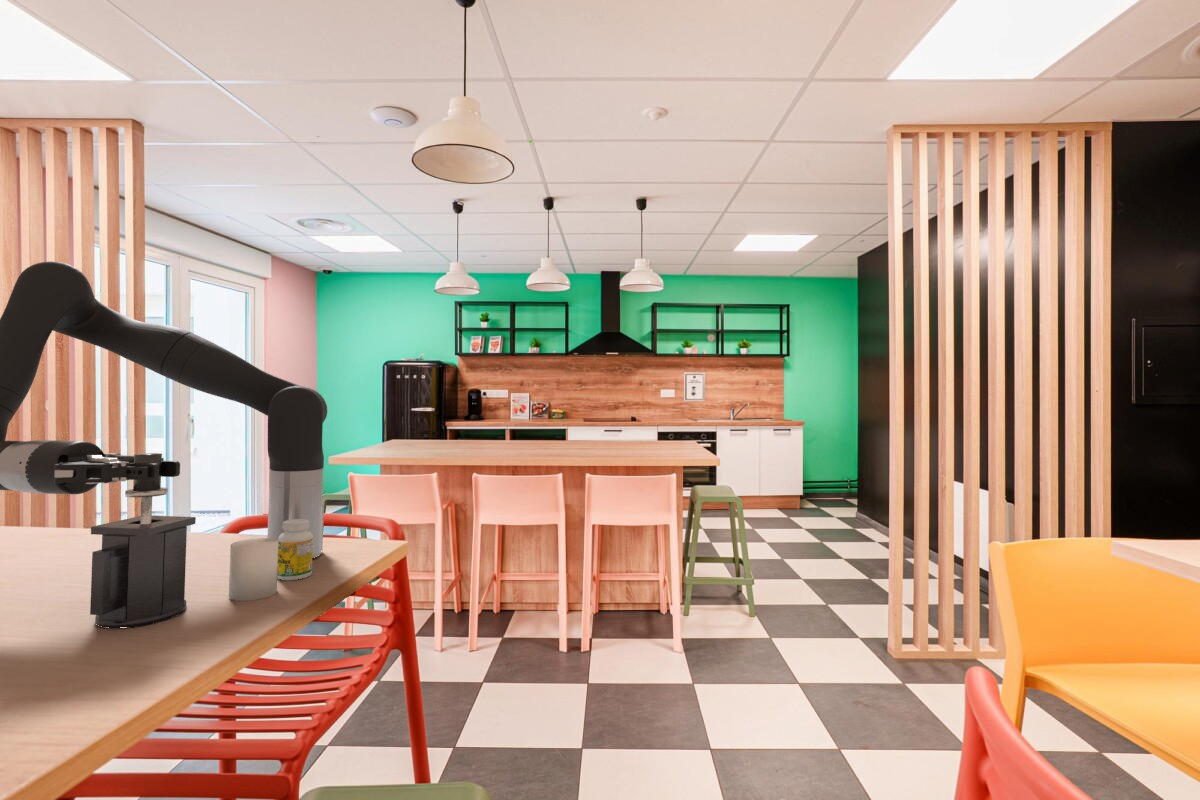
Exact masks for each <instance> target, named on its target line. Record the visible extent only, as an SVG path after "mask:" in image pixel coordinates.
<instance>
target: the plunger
mask: <svg viewBox="0 0 1200 800" xmlns="http://www.w3.org/2000/svg"><path fill="white" fill-rule="evenodd" d="M162 458H163V454H162V453H158V452H153V453H135V454H134V463H154V464H158V465H159V477H158V479H156V480H132V481H133V482H132V483H133V484H132V485H133V486H132V488H131V489H127V490H125V492H124V493H125V498H140V516H141V518H140V524H150V523H151V518H152V516H153V513H152V512H153V511H152V510H153V497H161V496H165V495H168V493H169V491H168V487H164V486H163V487H162V477H161V465H162Z"/></svg>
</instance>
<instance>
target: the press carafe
mask: <svg viewBox="0 0 1200 800" xmlns="http://www.w3.org/2000/svg"><path fill="white" fill-rule="evenodd" d="M140 518H141V515H139V516H133V517H129V518H125V519H121V520H115V521H112V522H111V521H110V522H105V523H103V524H98V525H93V526H90V535H101V549H98V550H95V551H92V554H91V555H92V559H91V578H90V579H91V580H90V581H91V583H90V607H89V612H90V613H89V615H90V616H95V617H94V619H95V620H94V621H95V623H96V624H97V625H99V626H102V627H109V628H120V627H132V628H136V627H135V626H139V627H143V626H148V624H149V625H153V623H154V624H157V623H158V624H159V623H160V622H164V621H167V620H171V619H173V618H175V617H177V616H179V615H181V614H183V613H184V612H185V611H186V609H187V600H186V599H185V594H186V589H185V588H186V563H187V538H188V535H187V534H188V533H187V532H188V526H193V525H196V520H197V518H196V516H180V515H178V516H176V515H175V516H172V515H152V518H151V523H150V524H140Z"/></svg>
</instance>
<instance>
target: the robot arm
mask: <svg viewBox="0 0 1200 800" xmlns="http://www.w3.org/2000/svg"><path fill="white" fill-rule="evenodd" d="M52 332H56V333H59V334H61V335H65V336H67V337H70V338H74V339H77V340H79V341H81V342H86V343H87V344H91V345H94V346H96V347H100V348H102V349H105V350H107V351H109V352H111V353H114V354H116V355H117V356H120V357H122V358H124V359H125V360H127V361H131V362H133V363H134V364H137V365H139V366H142V367H144V368H147V370H151V371H153V372H154V373H156V374H158V375H161V376H162V377H165V378H168V379H169V380H172V381H173V382H177V383H179V384H180V385H183V386H186V387H189V388H191V389H194V390H197V391H200V392H202V393H205V394H208V395H211V396H214V397H219V398H222V399H226V400H229V401H233V402H236V403H239V404H243V405H244V406H247V407H250V408H252V409H254V410H256V411H258V412H260V413H261V414H263V415H265V416H267V456H268V459H269V476H268V508H267V509H268V511H267V512H268V513H267V536H266V538H274V539H277V540H278V537H279V536H280V535H281V534H282V533H284V531H283V529H282V525H283V522H284V521H287V520H293V519H307V520H309V527H308V529H307V531H309V532H311V533H312V535H313V555H312V558H314V557H316V556H318V555H320V554H322V552H321V550H322V551H323V547H324V546H323V543H324V542H323V539H324V511H325V506H324V504H323V496H324V495H323V494H324V493H323V491H324V465H325V455H324V450H323V449H324V448H323V423H324V422H325V421H326V419H327V416H328V406H327V405H328V404H327V403H326V400H325V398H324V397H323V396H322V394H320V393H319V392H318V391H317V390H315V389H312V388H310V387H306V386H302V385H299V384H297V383H293V382H291V381H288V380H285V379H282V378H281V377H277V376H275V375H273V374H270V373H269V372H266V371H264V370H262V369H260V368H258V367H256V366H255V365H253V364H252V363H251V362H248V361H246V360H244V358H242V357H240V356H238V355H237V354H234V352H231V351H230V350H227V349H225V348H224V347H222V346H220V345H218V344H216V343H214V342H213V341H210V340H208V339H206V338H205V337H201V336H200V335H198V334H195V333H194V332H191V331H188V330H186V329H184V328H181V327H177V326H174V325H173V326H172V325H169V324H168V325H167V324H162V323H161V324H159V323H154V322H153V323H152V322H146V321H140V320H137V319H135V318H131V317H129V316H127V315H125V314H122V313H120V312H118V311H117V310H115V309H112V308H110V307H108V306H107V305H105V304H103V303H102V302H100V301H98V299H96V297H95V295H94V292H93V288H92V285H91V284H90V282H89V280H88V278H87V277H86V276H85V275H84V273H83V272H82V271H81V270H80V269H78V268H77V267H75V266H73V265H70V264H69V263H65V262H61V261H43V262H42V261H41V262H38V263H35V264H32V265H30V266H28V267H26V268H25V269H24V270H23V271H22V272H21V273H20V275H19V276H18V277H17V279H16V281H15V284H14V285H13V289H12V290H11V293H10V295H9V299H8V301H7V303H6V306H5V308H4V310H3V313H2V314H1V317H0V491H17V492H23V493H29V494H49V495H50V494H51V495H55V494H56V495H81V494H85V493H87V492H88V493H89V492H90V491H92V490H93V489H94V488H95V487H97V486H98V485H99V484H112V483H117V482H118V481H119V482H126V481H133V480H156V479H158V477H159V465H158V464H154V463H134V455H133V454H132V455H130V454H129V455H128V454H127V455H123V454H120V453H116V452H115V453H112V452H110V453H109V452H108V453H104V451H103V450H102V449H101V448H100V447H99V446H98V445H96V444H95V443H92V442H89V441H85V440H57V439H55V440H51V439H35V440H26V441H24V440H23V441H22V440H6V438H7V434H8V427H9V424H10V422H11V420H12V419H13V418H14V416H15V414H16V413H17V411H18V410H19V408H20V406H21V405H22V403H23V402H24V401H25V398H26V397H27V396H28V393H29V392H30V389H31V387H32V385H33V383H34V381H35V377H36V375H37V373H38V367H39V366H40V362H41V358H42V354H43V352H44V349H45V346H46V344H47V342H48V339H49V338H50V336H51V333H52ZM180 474H181V462H180V461H178V460H165V458H164V457H162V465H161V478H163V477H164V478H165V477H166V478H174V477H179V476H180ZM320 556H321V555H320ZM314 559H315V558H314Z"/></svg>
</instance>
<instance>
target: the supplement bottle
mask: <svg viewBox="0 0 1200 800" xmlns="http://www.w3.org/2000/svg"><path fill="white" fill-rule="evenodd" d="M308 527H309V520H307V519H293V520H287V521H284V522H283V525H282V529H283V531H284V533H282V534H281V535H280V536H279V537H278V571H277V580H278V579H279V580H280V579H281V580H280V581H298V579H299V580H303V579H306V578H308V576H309V577H310V576H311V575H312V573H313V559H312V555H313V535H312V533H311V532H309V531H307V529H308ZM302 578H303V579H302Z"/></svg>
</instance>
